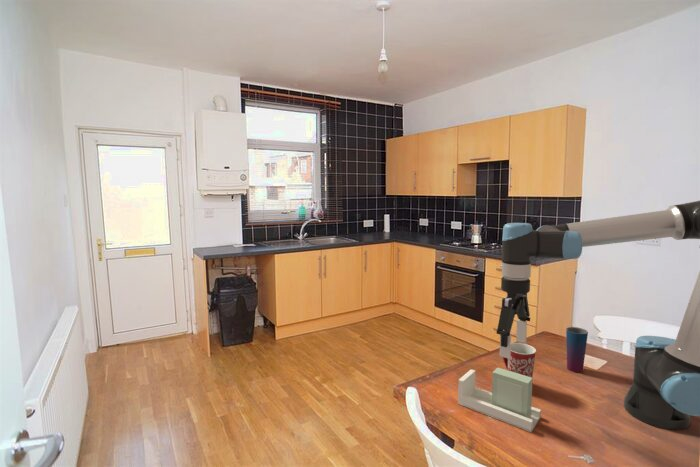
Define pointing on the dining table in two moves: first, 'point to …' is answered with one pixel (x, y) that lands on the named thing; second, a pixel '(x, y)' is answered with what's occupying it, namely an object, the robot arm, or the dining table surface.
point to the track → (483, 404)
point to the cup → (576, 348)
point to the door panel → (512, 391)
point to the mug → (521, 359)
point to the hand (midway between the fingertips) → (513, 349)
